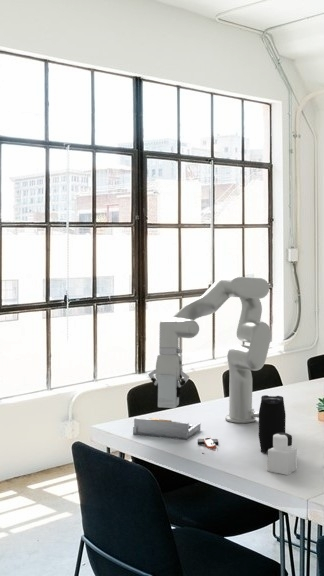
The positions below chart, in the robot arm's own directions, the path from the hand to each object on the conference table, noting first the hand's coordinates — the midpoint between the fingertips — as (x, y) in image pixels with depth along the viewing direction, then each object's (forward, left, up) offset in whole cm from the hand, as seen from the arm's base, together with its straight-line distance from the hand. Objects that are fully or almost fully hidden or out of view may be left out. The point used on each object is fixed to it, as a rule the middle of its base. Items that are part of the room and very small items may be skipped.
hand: (168, 395), depth 277 cm
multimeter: (-23, +16, -15) cm, 32 cm away
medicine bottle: (-52, +32, -14) cm, 63 cm away
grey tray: (0, +1, -14) cm, 14 cm away
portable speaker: (-44, +12, -14) cm, 48 cm away
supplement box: (0, 0, -4) cm, 4 cm away
